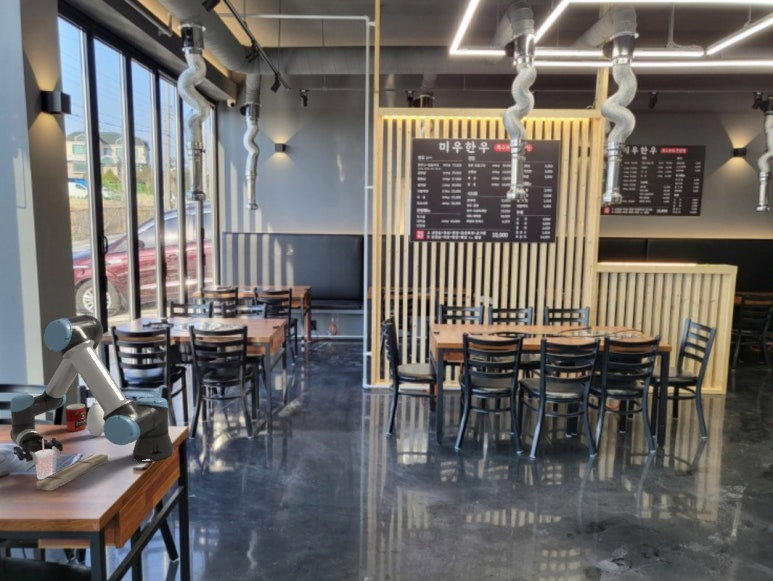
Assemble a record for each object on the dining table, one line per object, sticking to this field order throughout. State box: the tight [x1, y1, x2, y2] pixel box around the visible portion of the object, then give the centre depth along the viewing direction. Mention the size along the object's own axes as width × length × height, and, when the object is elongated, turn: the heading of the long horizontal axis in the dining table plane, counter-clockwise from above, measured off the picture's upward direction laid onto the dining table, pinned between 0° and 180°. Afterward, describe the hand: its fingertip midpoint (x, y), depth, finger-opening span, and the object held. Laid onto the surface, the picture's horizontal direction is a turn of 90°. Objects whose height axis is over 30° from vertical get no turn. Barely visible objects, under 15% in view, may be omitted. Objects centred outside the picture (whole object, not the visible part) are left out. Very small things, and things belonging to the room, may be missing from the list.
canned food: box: [65, 403, 87, 433], centre depth 242 cm, size 8×8×11 cm
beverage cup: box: [35, 438, 54, 480], centre depth 189 cm, size 6×6×14 cm
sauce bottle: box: [86, 398, 105, 437], centre depth 234 cm, size 8×8×18 cm
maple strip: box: [36, 453, 109, 492], centre depth 194 cm, size 6×26×3 cm, turn 166°
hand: (47, 457), depth 186 cm, fingers closed on beverage cup, 6 cm apart
